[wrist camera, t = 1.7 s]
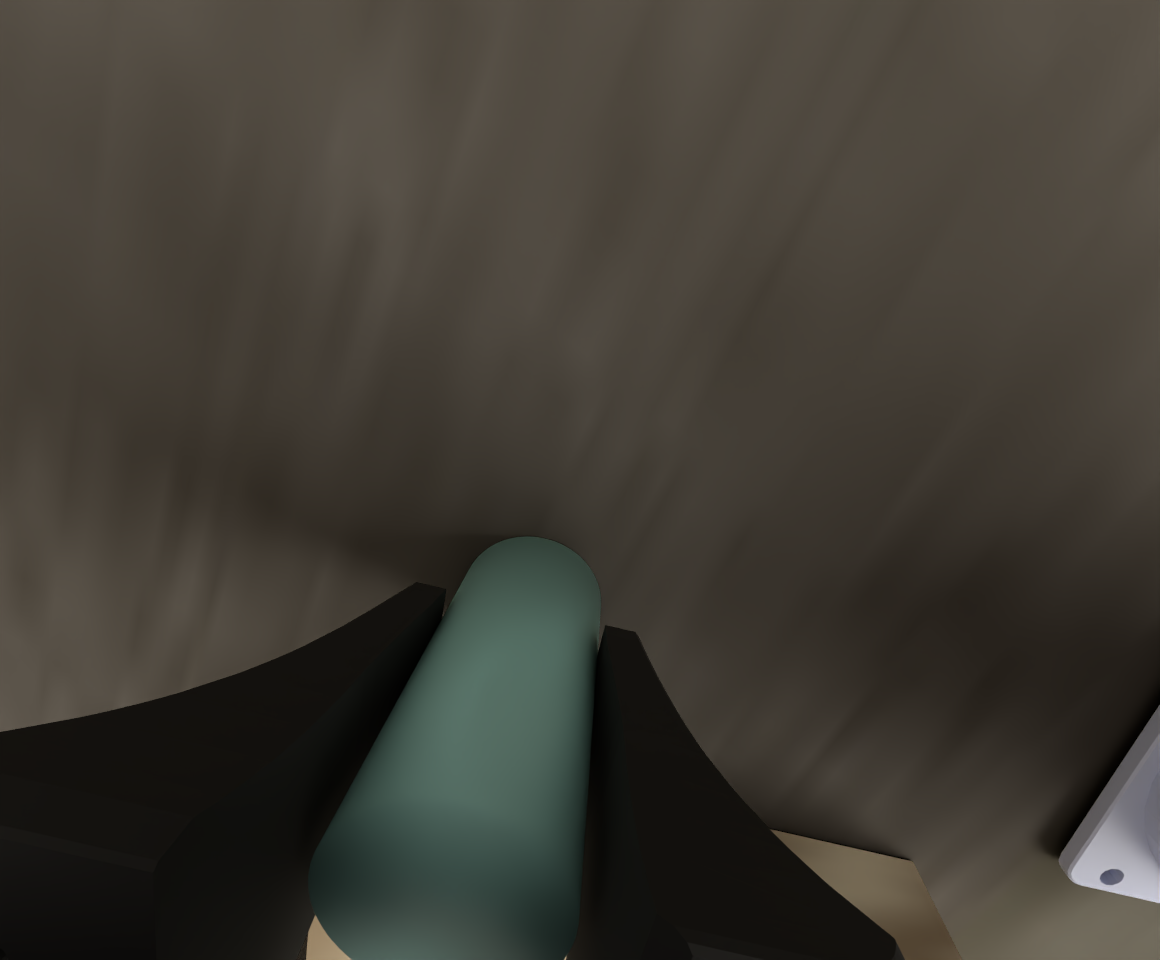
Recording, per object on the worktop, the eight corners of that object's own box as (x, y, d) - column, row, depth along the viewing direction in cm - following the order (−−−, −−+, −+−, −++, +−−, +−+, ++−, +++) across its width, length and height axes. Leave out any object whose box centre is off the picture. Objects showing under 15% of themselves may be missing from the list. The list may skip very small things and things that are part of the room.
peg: (615, 554, 13) (606, 835, 6) (584, 672, 14) (549, 1022, 7) (474, 522, 13) (317, 769, 6) (454, 642, 14) (299, 966, 7)
